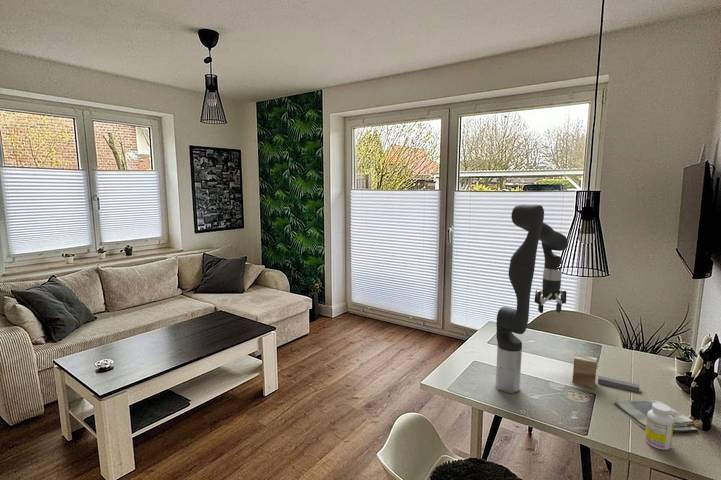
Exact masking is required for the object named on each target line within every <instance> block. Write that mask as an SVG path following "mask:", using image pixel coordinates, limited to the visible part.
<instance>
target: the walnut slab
mask: <svg viewBox="0 0 721 480" xmlns="http://www.w3.org/2000/svg"><path fill="white" fill-rule="evenodd" d="M597 364H598V358H596V357H591V356H587V355H583V354H576V353H575V354H574V359H573V371H572V382H571V383H573V384H576V385H581V386H583V387H589V388H593V389H595V388H596V377H597V366H598V365H597Z"/></svg>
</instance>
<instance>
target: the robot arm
mask: <svg viewBox="0 0 721 480" xmlns="http://www.w3.org/2000/svg"><path fill="white" fill-rule="evenodd" d="M544 209H545V208H544V207H543V206H542V204H528V203H527V204H526V203H522V204H521V203H520V204H517V205H515V206H513V208H512V211H511V218H510V219H511V221H512V223H513V225H515V226H516V227H517V228H521V229H523V230H525V231H526V232H527V235H526V237H525V239H524V241H523V243H521V245H520V246H519V247H518V248H517V249H516V251H515V252H514V253H513V254H512V256H511V258H510V259H509V260H510V261H509V262H510V263H509V267H508V278H509V281H510V284H511V286H512V289H513V291H514V293H515V296H516V308H512V307H508V306H502V307H500V308H499V310H498V311H497V315H496V324H495V325H496V342H497V348H496V351H497V352H496V368H495V369H496V372H495V387H496V389H497V390H498V391H501V392H504V393H508V394H512V395H513V394H514V393H517V392H519V391H520V389H521V372H522V371H521V369H522V355H523V354H522V353H523V352H522V351H523V343H522V340H520V339H519V338H518V337H517V336H516V335H515V334H517V335H523V334H525V332H526V331H527V328H528V324H529V316H530V301H531V292H532V286H533V285H532V284H533V280H534V274H535V268H536V259H537V252H538V246H539V241H540V242H541V247H542V251H543V252H542V253H543V256H544V267H543V273H542V284H541V285H542V290H538V289H536V290H535V295H534V303H535V304H537V305H538V306H537V307H538V308H537V312H539V313H540V314H544V306H545V303H546V302H548V301H555V302H556V305H555V312H556V313H558V314H559V313H561V312H562V305H564V304H566V303H567V291H566V290H564V289H561V288H562V287H561V285H562V274H563V273H562V266H561V267H560V268H559V271H560V272H559V271H557V267H558V266H560V265H559V263H560V264H561V265H562V263H563V258H562V257H561V255H557V254H555V253H554V252H553V251H556V252H557V251H558V252H562V251H565V250H566V249H567V248H568V245H569V242H568V241H569V240H568V238H567V236H566V235H564V234H562V233H560V232H558V231H556V230H554V229H553V228H552V227H551V226H550V225H549V224H547V223H545V222H544V219H545V210H544ZM560 260H561V261H560Z"/></svg>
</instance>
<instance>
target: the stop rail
mask: <svg viewBox="0 0 721 480" xmlns="http://www.w3.org/2000/svg"><path fill="white" fill-rule="evenodd" d="M597 384H601V385H604V386H609V387H614V388H618V389H621V390H625V391H629V392H630V391H631V392H635V393H639V394H640V384H638V383H637V384H636V383H634V382H629V381H623V380H619V379H615V378H610V377H606V376H601V375H598V377H597Z"/></svg>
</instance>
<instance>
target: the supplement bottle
mask: <svg viewBox="0 0 721 480" xmlns="http://www.w3.org/2000/svg"><path fill="white" fill-rule="evenodd" d="M662 403H663V402H662ZM662 403H653V404H652V410H649V411H648V413H647V423H646V431H645V432H644V433H645V435H644V436H645V437H644V440H645V442H646V443H647V444H648V445H650V446H651V447H653V448H655V449H658V450H662V451H663V450H664V451H665V450H667V451H668V450H669V449H671V448H672V443H673V433H674V432H673V426H674V419H673V417H672V416H671V415H670V413H671V408H672V407H671V406H669V405H667V404H666V403H664V404H662ZM665 404H666V405H665ZM670 407H671V408H670Z"/></svg>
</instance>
